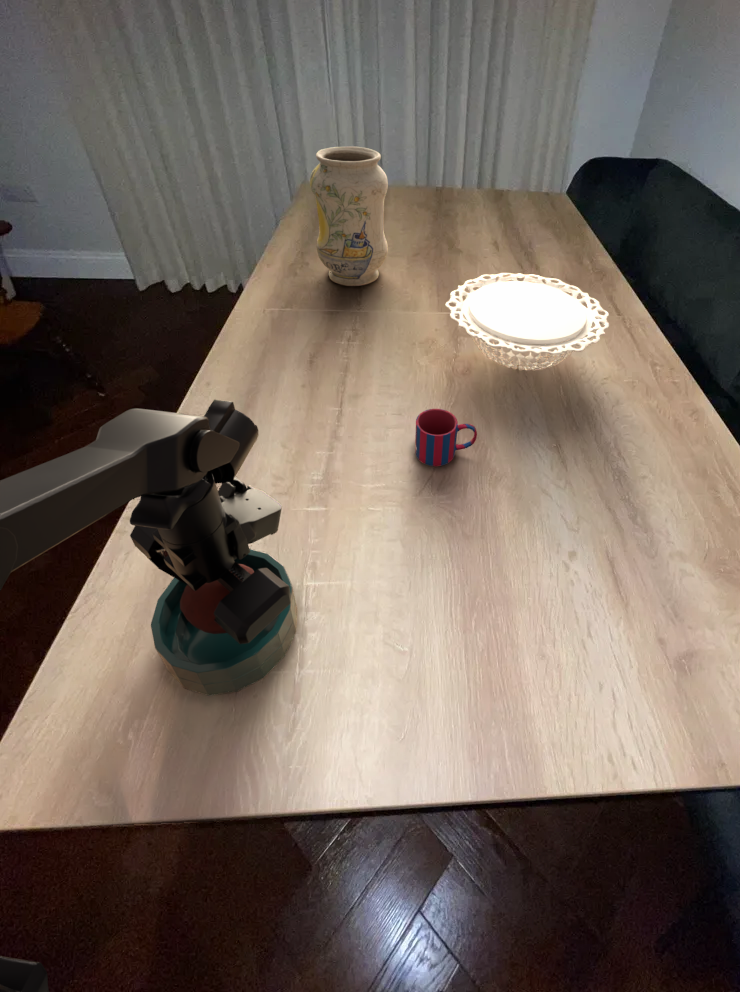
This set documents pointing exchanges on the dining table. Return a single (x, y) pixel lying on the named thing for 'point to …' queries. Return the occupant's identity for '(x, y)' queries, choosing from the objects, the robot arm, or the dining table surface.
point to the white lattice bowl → (527, 319)
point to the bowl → (220, 640)
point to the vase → (350, 213)
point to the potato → (205, 604)
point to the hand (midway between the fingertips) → (224, 607)
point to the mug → (439, 437)
